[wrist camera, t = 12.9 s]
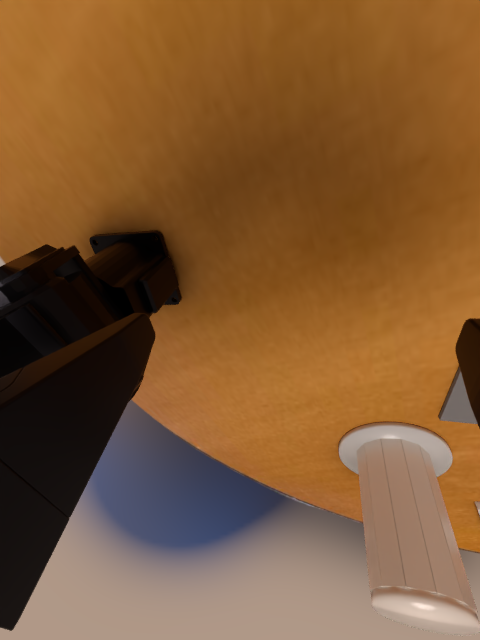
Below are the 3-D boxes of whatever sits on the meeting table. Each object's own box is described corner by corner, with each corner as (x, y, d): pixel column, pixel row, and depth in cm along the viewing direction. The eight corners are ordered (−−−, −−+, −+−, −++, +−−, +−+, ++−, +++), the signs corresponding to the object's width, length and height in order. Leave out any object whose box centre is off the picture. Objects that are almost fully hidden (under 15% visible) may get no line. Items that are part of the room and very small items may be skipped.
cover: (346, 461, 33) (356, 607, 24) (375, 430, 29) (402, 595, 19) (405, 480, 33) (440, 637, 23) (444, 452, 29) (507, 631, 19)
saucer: (336, 469, 36) (337, 493, 34) (341, 416, 30) (343, 440, 28) (435, 485, 33) (443, 511, 31) (464, 429, 27) (477, 457, 25)
